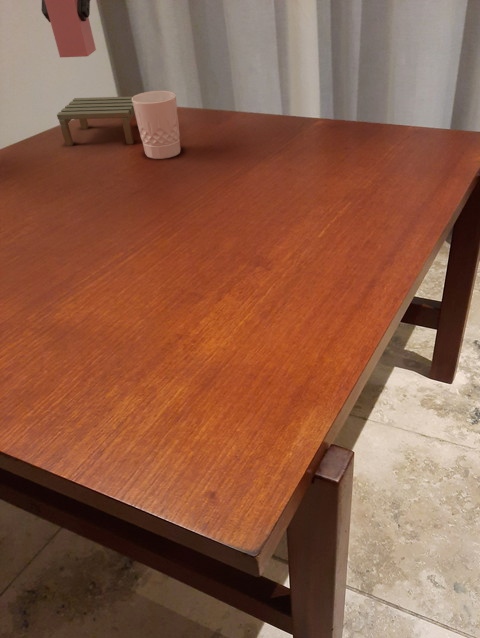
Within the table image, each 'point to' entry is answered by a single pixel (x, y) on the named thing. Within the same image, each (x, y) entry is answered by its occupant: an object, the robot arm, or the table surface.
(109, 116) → the rack
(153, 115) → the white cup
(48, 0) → the pink box
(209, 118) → the table surface
